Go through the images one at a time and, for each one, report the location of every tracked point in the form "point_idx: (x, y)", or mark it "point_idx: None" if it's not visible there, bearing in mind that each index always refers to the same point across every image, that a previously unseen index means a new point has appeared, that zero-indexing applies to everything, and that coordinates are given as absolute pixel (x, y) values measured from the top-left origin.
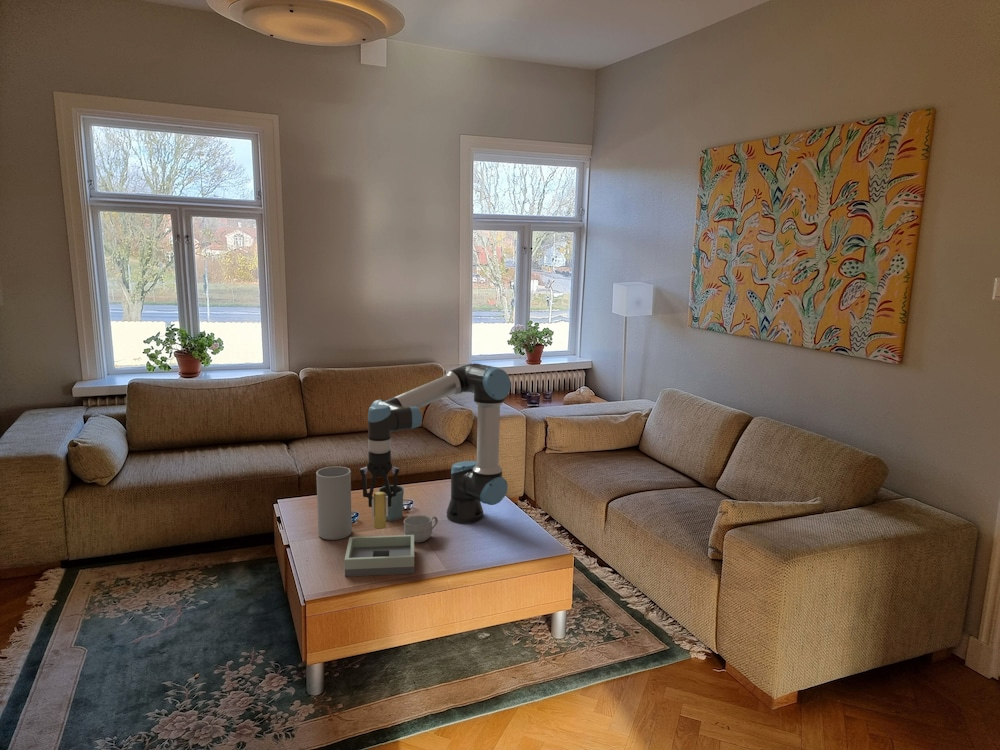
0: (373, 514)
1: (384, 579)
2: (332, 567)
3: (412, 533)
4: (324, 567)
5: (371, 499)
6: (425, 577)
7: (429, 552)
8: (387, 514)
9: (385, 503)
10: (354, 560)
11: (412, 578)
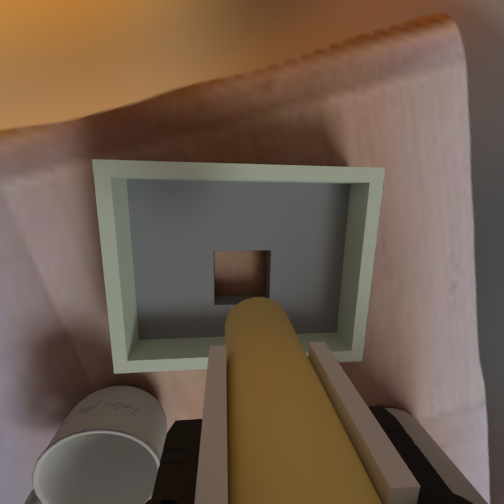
0: (320, 353)
1: (224, 134)
2: (386, 239)
3: (130, 404)
4: (409, 241)
5: (412, 490)
6: (76, 129)
7: (79, 319)
8: (211, 355)
9: (228, 450)
10: (345, 167)
11: (125, 128)
